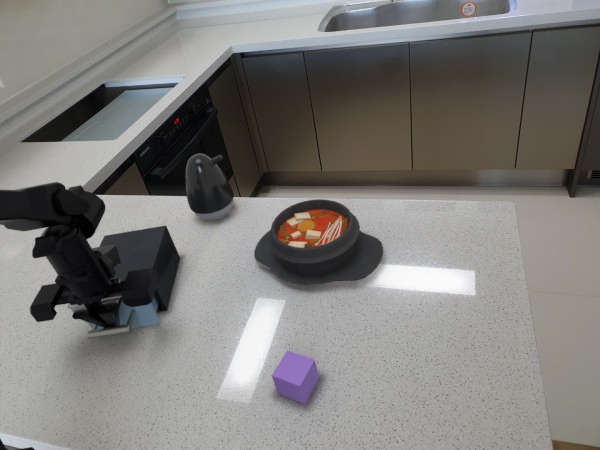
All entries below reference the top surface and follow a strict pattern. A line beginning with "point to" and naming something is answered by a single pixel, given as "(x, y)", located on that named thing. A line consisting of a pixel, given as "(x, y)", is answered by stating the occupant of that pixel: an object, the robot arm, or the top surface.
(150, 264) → the black drawer cabinet
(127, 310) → the blue drawer
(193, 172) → the pump dispenser
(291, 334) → the top surface
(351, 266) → the casserole
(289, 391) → the block
